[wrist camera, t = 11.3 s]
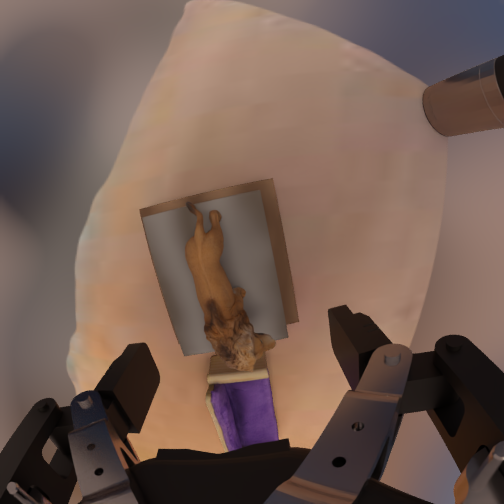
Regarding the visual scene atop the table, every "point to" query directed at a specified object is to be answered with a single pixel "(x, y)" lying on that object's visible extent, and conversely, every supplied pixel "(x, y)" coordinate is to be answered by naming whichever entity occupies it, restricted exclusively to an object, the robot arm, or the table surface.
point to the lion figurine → (222, 299)
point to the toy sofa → (241, 404)
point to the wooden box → (224, 259)
